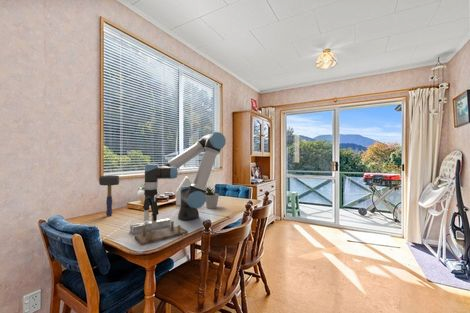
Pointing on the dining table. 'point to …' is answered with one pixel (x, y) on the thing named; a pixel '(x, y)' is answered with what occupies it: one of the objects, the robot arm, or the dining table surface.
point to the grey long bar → (149, 225)
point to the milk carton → (185, 182)
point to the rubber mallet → (109, 189)
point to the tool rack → (160, 234)
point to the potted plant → (211, 198)
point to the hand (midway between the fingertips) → (150, 223)
